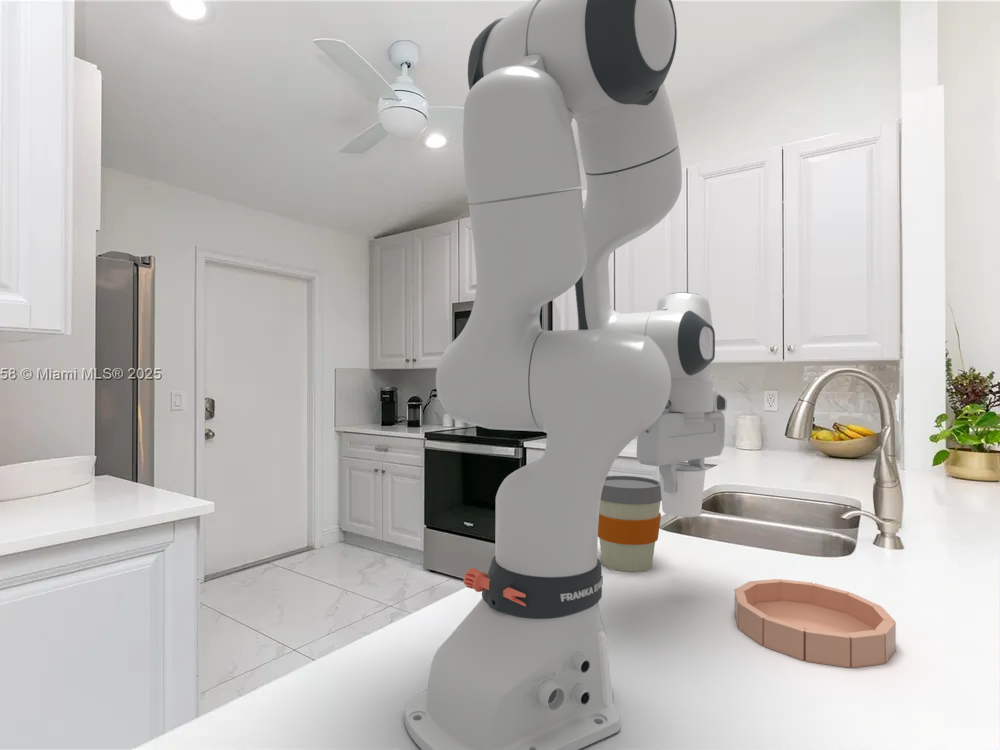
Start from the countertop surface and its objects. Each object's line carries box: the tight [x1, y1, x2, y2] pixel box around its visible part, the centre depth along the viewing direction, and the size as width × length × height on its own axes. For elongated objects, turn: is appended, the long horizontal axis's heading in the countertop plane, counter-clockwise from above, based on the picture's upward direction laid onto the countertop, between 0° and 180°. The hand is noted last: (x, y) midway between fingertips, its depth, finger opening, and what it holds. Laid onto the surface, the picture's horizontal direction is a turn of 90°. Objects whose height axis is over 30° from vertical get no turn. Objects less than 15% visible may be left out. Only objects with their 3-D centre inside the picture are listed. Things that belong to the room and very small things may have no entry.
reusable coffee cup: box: [598, 475, 662, 573], centre depth 100 cm, size 13×13×15 cm
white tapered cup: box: [658, 463, 706, 518], centre depth 84 cm, size 7×7×7 cm
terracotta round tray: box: [734, 578, 897, 669], centre depth 73 cm, size 18×18×4 cm
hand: (682, 489), depth 84 cm, fingers closed on white tapered cup, 5 cm apart
